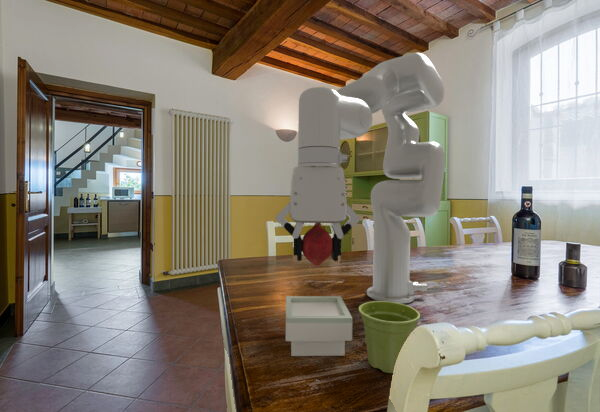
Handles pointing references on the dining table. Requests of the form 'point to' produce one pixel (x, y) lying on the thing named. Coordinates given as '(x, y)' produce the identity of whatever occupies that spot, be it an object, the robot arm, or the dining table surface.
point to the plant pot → (386, 331)
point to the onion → (317, 245)
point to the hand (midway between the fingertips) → (316, 258)
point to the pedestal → (317, 325)
